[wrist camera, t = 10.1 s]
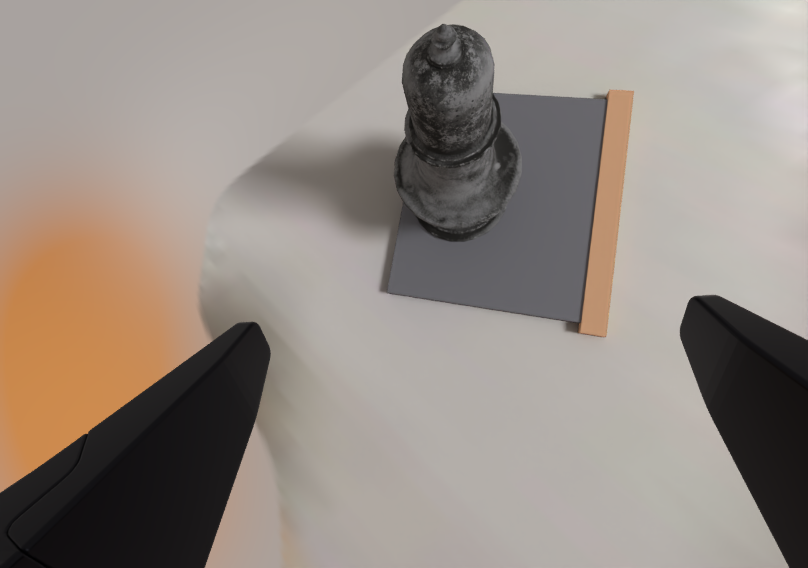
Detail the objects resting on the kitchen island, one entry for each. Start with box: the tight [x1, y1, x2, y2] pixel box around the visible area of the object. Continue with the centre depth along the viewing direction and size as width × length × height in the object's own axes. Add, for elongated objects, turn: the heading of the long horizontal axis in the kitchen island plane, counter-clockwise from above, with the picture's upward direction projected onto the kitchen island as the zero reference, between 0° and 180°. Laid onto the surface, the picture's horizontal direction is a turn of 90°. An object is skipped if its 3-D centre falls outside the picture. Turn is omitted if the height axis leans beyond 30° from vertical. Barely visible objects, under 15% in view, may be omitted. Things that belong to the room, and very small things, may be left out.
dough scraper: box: [387, 90, 634, 337], centre depth 22 cm, size 11×13×1 cm
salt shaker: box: [394, 24, 522, 242], centre depth 17 cm, size 6×6×12 cm
